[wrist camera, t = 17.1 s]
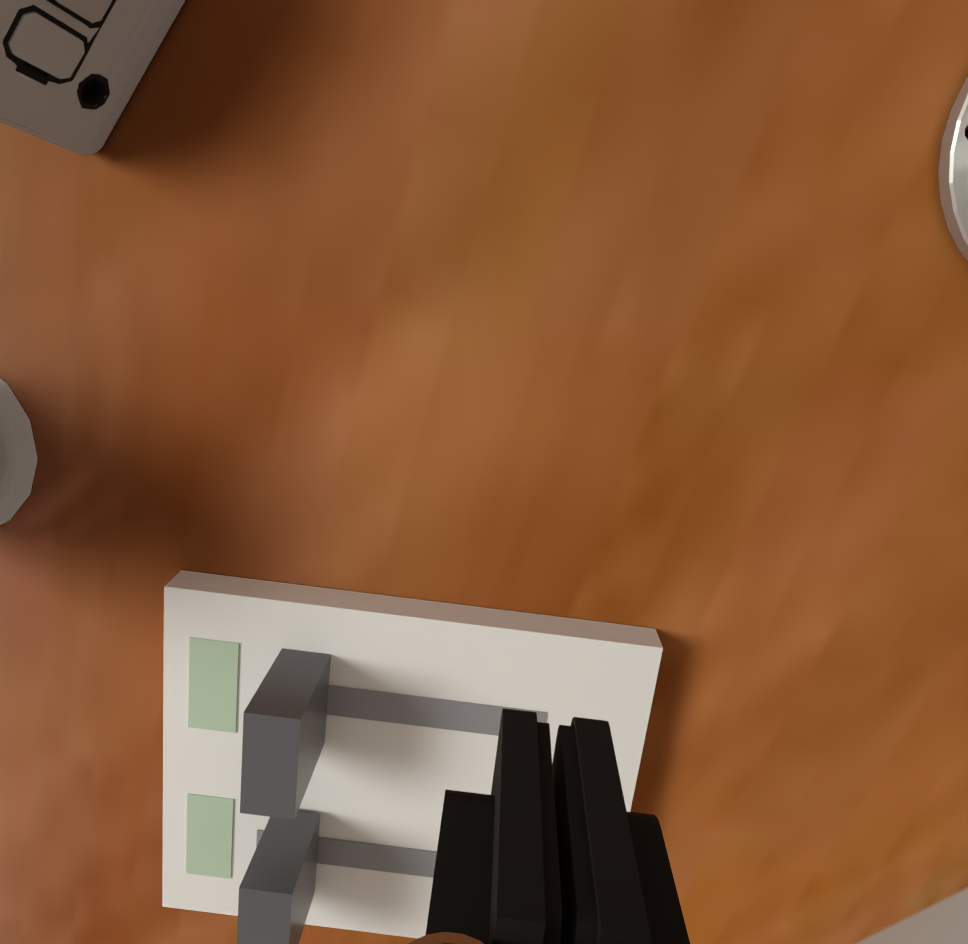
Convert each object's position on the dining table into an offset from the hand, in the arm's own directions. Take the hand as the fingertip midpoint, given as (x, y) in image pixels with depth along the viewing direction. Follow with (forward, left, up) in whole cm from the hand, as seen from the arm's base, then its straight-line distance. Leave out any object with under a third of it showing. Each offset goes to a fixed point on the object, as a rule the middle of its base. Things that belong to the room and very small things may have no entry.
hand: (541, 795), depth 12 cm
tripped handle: (+9, +23, -23) cm, 33 cm away
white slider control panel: (+4, +18, -25) cm, 31 cm away
